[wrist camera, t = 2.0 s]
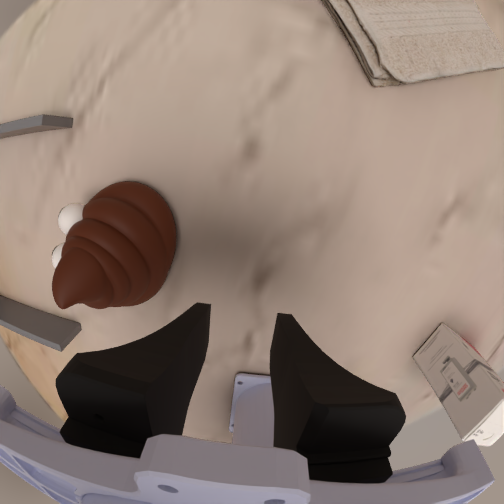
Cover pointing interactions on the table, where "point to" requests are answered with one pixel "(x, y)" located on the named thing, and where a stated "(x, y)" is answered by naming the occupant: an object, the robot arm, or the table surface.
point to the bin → (16, 314)
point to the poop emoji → (114, 248)
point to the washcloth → (417, 38)
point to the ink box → (464, 385)
